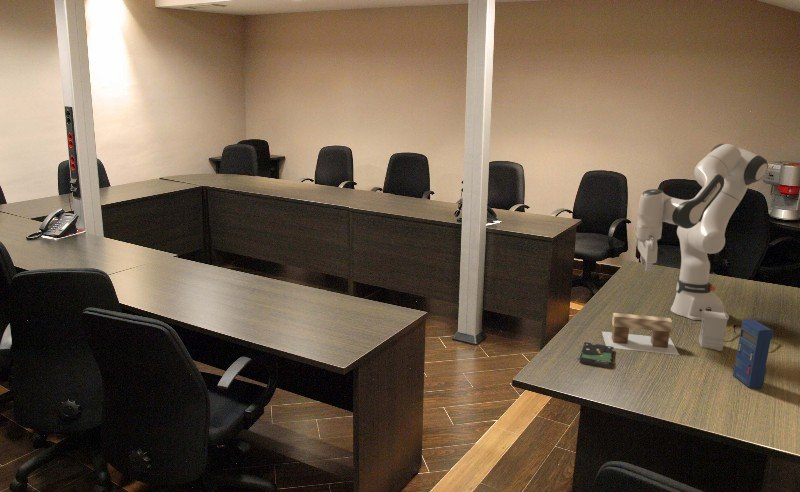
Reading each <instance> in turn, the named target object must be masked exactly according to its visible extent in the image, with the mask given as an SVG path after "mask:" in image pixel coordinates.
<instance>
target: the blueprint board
mask: <svg viewBox="0 0 800 492" xmlns="http://www.w3.org/2000/svg"><path fill="white" fill-rule="evenodd" d="M601 334H602V337H603V341H604V345H605V346H611V347H614V349H617V350H629V351H636V352H645V353H647V352H648V353H657V354H667V355H675V356H680V353H679V351H678V349H677V348H676V346H675V345H674V343H673V341H672V338H670V337H669V341H668V348H662V347H653V345H652V343H651V336H650V335H640V334H632V333H629V335H628V342H627V344H623V343H613V340H612V331H601Z"/></svg>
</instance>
